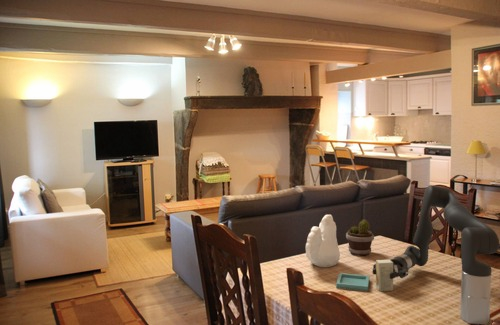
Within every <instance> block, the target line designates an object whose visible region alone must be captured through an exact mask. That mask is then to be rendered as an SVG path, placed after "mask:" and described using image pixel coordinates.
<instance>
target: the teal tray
mask: <svg viewBox="0 0 500 325" xmlns="http://www.w3.org/2000/svg"><path fill="white" fill-rule="evenodd" d="M369 284H370V275H365V274H364V275H363V274H353V273H343V272H339V274H338V276H337V279H336V284H335V285H336V286H335V288H336V289H344V290H351V291H358V292H359V291H360V292H361V291H362V292H369Z"/></svg>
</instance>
